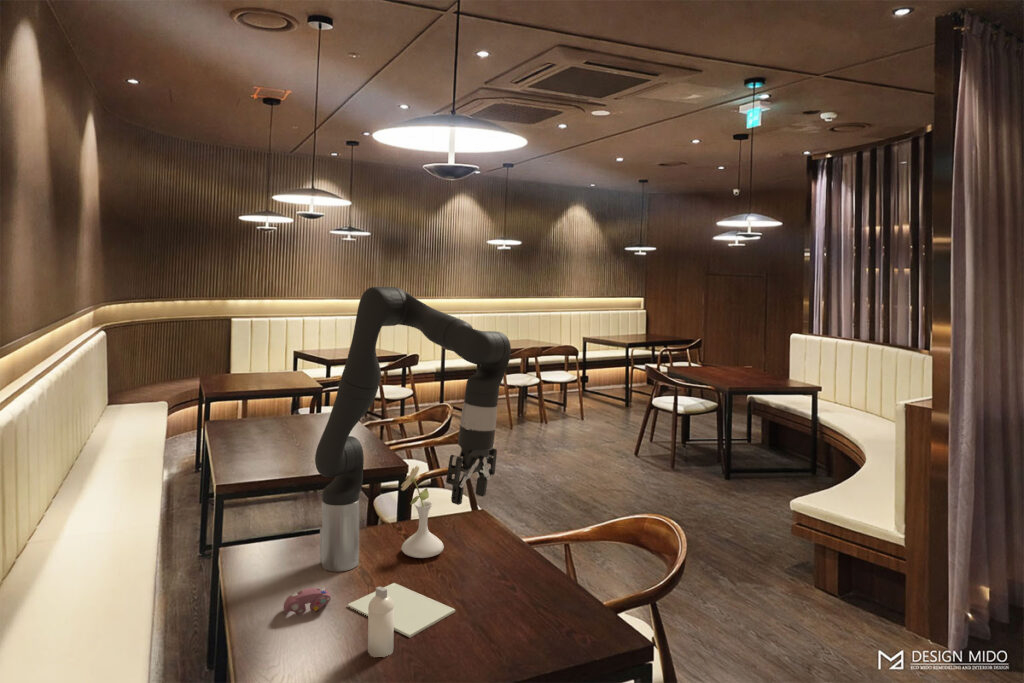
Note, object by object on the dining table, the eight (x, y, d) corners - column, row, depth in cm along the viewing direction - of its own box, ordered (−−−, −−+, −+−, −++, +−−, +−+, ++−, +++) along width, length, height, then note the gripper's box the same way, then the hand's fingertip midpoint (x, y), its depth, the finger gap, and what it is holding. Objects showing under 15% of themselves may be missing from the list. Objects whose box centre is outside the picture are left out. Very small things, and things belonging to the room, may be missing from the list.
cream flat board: (347, 606, 148) (347, 604, 148) (393, 585, 159) (393, 582, 159) (409, 637, 136) (409, 635, 136) (455, 611, 147) (455, 609, 147)
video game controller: (284, 624, 143) (286, 603, 139) (281, 607, 146) (284, 586, 143) (330, 615, 147) (333, 594, 144) (327, 598, 150) (330, 577, 147)
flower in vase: (421, 541, 186) (423, 455, 184) (452, 552, 179) (454, 462, 177) (387, 556, 175) (389, 465, 173) (418, 568, 169) (420, 473, 166)
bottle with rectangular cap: (362, 651, 130) (363, 589, 129) (381, 641, 134) (382, 580, 133) (379, 660, 127) (380, 597, 126) (398, 649, 131) (399, 588, 130)
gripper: (483, 417, 146) (474, 488, 147) (442, 424, 134) (433, 501, 135) (511, 425, 142) (501, 497, 143) (472, 432, 130) (462, 511, 131)
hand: (468, 499), depth 139 cm, fingers open, 8 cm apart
